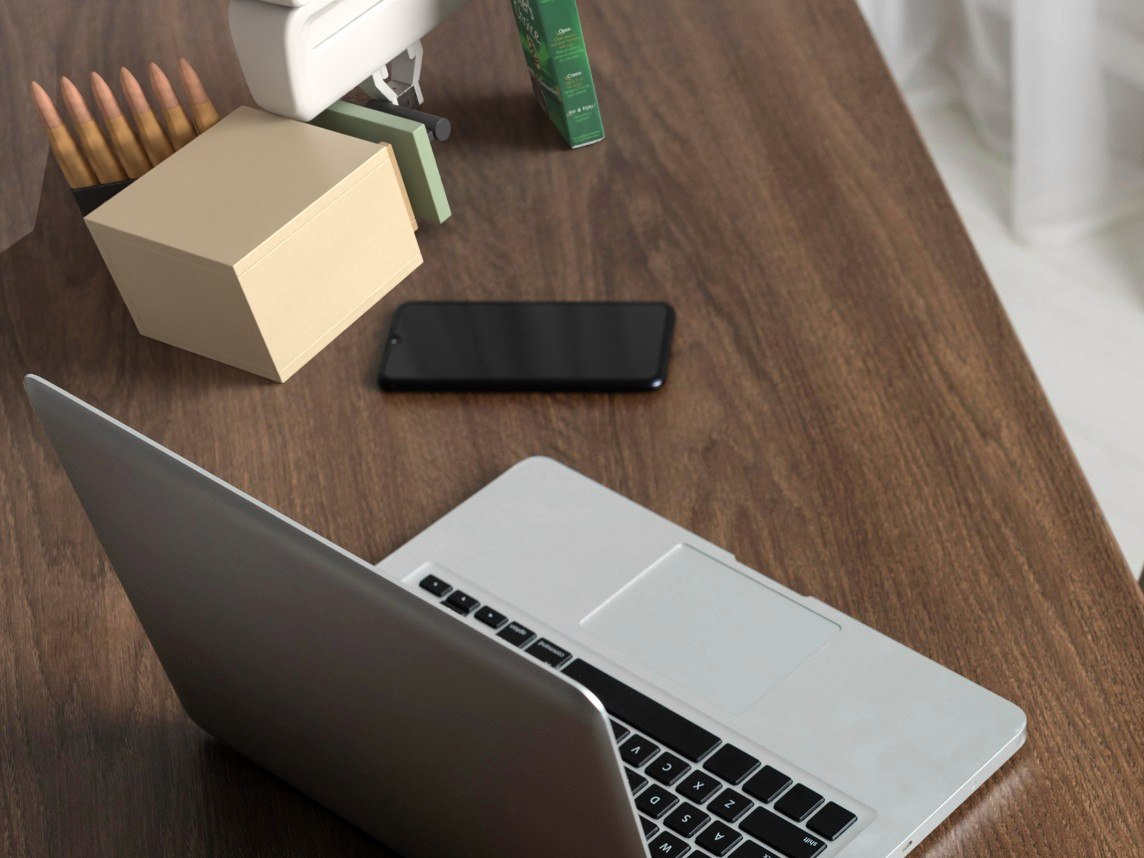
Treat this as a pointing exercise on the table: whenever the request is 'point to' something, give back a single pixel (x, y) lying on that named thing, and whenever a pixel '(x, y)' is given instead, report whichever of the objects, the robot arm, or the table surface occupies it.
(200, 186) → the cabinet
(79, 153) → the ammunition clip
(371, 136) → the drawer
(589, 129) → the coffee box
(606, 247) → the table surface
